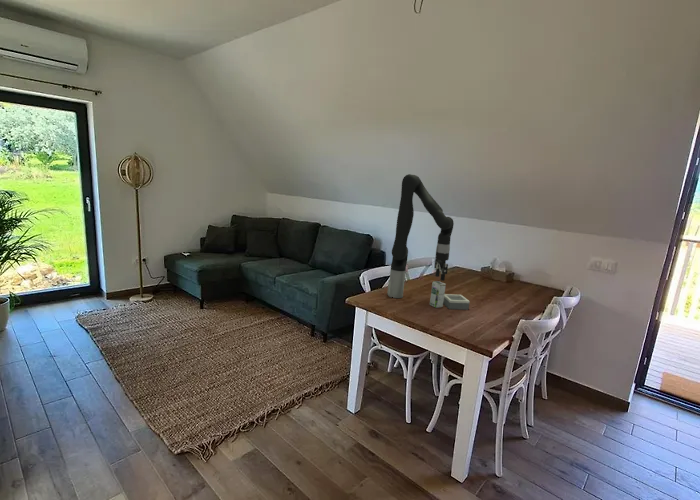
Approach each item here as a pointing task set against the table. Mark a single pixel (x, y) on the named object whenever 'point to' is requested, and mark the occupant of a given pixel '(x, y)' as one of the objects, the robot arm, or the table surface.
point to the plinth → (456, 302)
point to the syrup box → (437, 294)
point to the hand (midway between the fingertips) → (439, 278)
